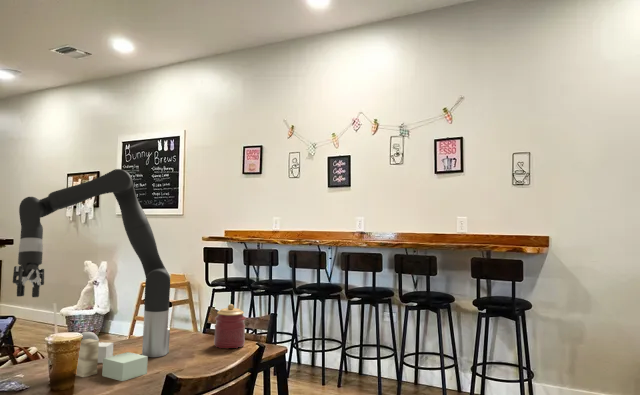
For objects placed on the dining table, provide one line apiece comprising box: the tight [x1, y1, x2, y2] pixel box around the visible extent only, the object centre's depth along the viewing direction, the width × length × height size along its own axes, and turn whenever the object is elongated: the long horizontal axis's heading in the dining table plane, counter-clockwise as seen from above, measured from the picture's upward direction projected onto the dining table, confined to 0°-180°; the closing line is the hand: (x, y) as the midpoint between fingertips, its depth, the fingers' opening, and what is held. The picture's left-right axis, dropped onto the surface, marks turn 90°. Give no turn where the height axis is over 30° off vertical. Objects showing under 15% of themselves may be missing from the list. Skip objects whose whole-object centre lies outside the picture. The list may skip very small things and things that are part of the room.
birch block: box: [76, 339, 100, 378], centre depth 162 cm, size 5×5×11 cm
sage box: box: [101, 351, 149, 382], centre depth 163 cm, size 10×10×6 cm
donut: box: [79, 331, 100, 342], centre depth 180 cm, size 10×3×10 cm, turn 138°
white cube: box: [98, 341, 114, 364], centre depth 178 cm, size 6×6×6 cm
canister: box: [213, 303, 247, 349], centre depth 206 cm, size 13×13×18 cm
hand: (28, 296), depth 171 cm, fingers open, 8 cm apart
